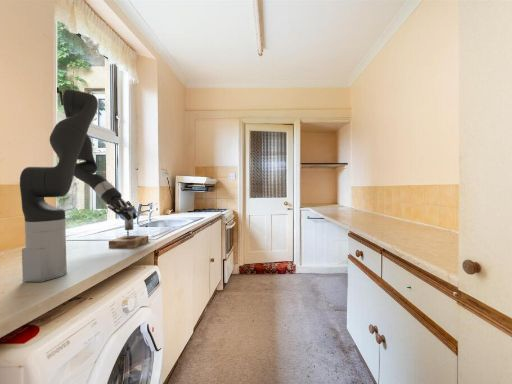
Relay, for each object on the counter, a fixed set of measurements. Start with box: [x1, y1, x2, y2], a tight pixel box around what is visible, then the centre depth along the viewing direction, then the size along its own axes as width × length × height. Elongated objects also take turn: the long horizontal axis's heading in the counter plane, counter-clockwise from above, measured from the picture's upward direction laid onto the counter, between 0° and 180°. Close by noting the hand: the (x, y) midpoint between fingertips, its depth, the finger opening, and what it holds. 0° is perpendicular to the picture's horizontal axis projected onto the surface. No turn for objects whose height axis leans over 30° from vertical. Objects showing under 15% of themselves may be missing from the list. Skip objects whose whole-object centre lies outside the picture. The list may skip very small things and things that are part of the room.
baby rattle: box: [118, 206, 137, 236], centre depth 126 cm, size 9×9×18 cm
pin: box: [124, 205, 135, 231], centre depth 112 cm, size 5×5×11 cm
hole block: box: [108, 235, 150, 249], centre depth 112 cm, size 12×12×3 cm
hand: (133, 218), depth 112 cm, fingers closed on pin, 3 cm apart
